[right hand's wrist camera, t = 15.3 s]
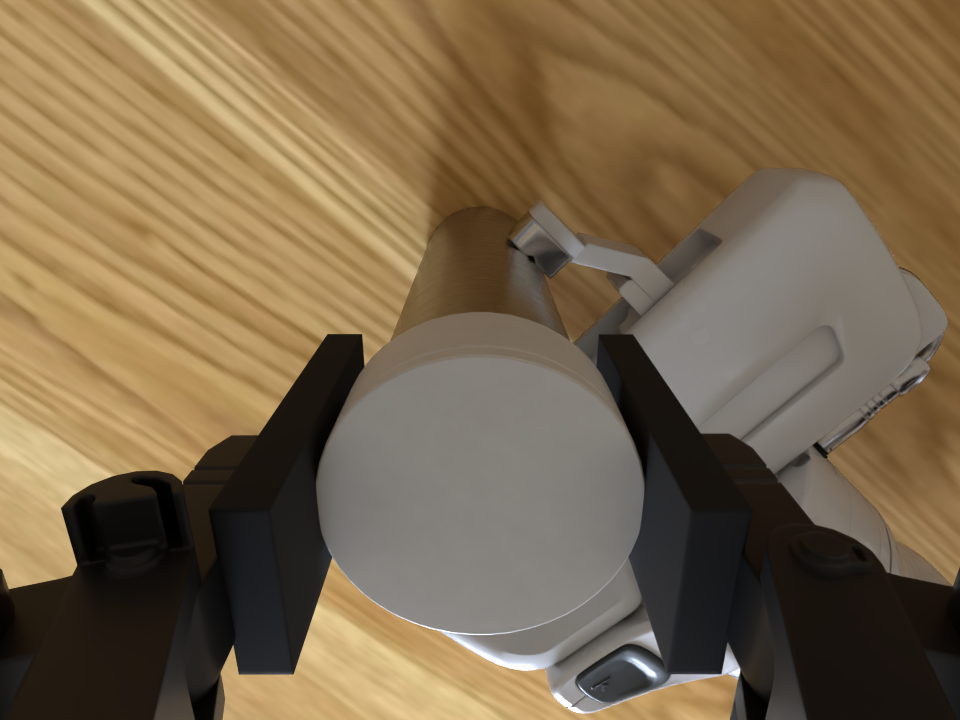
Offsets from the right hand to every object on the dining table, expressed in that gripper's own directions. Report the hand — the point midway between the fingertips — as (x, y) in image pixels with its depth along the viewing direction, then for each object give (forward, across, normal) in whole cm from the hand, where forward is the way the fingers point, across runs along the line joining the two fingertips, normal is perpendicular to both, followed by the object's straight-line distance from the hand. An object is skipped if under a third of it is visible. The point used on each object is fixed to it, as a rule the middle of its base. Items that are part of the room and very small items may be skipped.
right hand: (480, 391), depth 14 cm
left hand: (+7, -1, +1) cm, 7 cm away
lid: (-4, 0, 0) cm, 4 cm away
